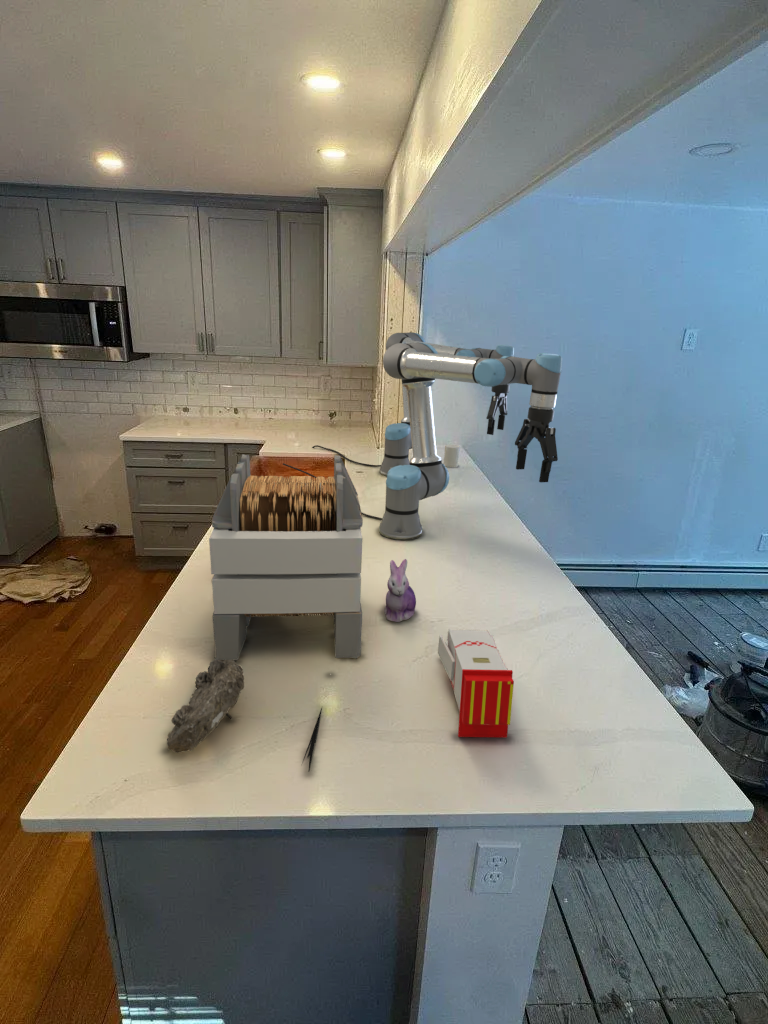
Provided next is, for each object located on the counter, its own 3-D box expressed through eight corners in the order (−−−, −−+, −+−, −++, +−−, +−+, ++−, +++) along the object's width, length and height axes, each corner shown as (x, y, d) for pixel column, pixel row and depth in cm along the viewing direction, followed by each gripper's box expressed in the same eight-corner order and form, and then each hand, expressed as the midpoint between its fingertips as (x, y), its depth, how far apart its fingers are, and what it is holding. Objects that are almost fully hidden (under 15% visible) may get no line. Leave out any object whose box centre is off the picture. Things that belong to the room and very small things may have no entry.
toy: (488, 613, 130) (523, 677, 101) (484, 667, 133) (517, 744, 104) (435, 612, 130) (455, 676, 101) (432, 666, 133) (451, 743, 103)
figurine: (392, 627, 141) (395, 572, 136) (374, 608, 149) (376, 556, 144) (425, 619, 145) (429, 566, 140) (405, 601, 154) (408, 550, 149)
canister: (460, 466, 291) (462, 446, 287) (450, 468, 286) (452, 448, 283) (450, 463, 296) (452, 443, 292) (440, 465, 291) (442, 445, 288)
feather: (331, 679, 122) (336, 673, 122) (307, 777, 96) (313, 769, 95) (324, 675, 122) (329, 669, 121) (298, 772, 95) (304, 764, 95)
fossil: (192, 660, 117) (244, 628, 112) (224, 691, 120) (276, 661, 115) (142, 746, 98) (202, 712, 93) (182, 779, 101) (242, 748, 96)
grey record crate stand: (234, 590, 156) (226, 444, 142) (353, 588, 159) (357, 447, 146) (212, 662, 124) (200, 485, 110) (361, 659, 128) (367, 486, 114)
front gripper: (578, 415, 160) (565, 487, 167) (530, 400, 182) (520, 463, 189) (555, 415, 157) (543, 488, 165) (509, 399, 179) (501, 464, 187)
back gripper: (500, 386, 231) (494, 437, 239) (518, 381, 252) (512, 428, 259) (482, 384, 235) (477, 435, 242) (502, 379, 255) (496, 426, 262)
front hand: (531, 475), depth 177 cm, fingers open, 13 cm apart
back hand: (495, 432), depth 250 cm, fingers open, 13 cm apart
